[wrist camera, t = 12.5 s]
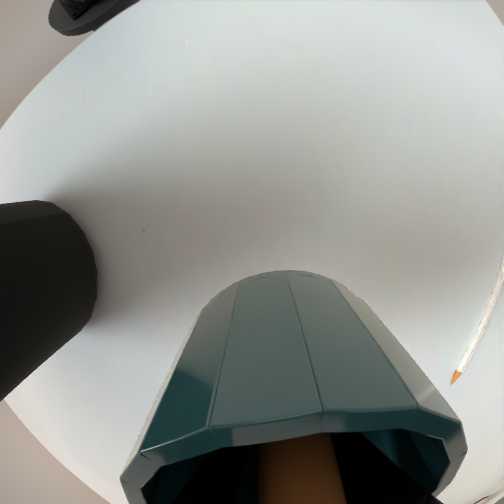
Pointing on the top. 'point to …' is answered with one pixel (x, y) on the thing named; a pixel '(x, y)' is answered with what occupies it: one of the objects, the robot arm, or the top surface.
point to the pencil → (481, 323)
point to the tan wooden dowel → (300, 472)
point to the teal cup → (290, 388)
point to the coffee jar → (40, 286)
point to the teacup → (483, 501)
